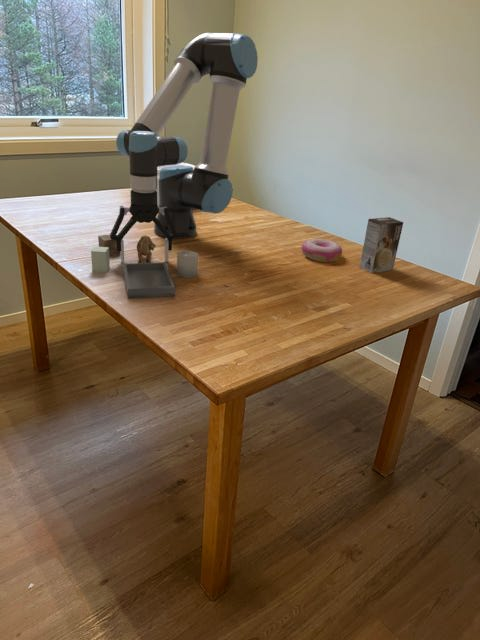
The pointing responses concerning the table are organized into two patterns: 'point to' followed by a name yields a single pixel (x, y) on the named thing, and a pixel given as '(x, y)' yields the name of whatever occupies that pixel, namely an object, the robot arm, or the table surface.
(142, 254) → the lion figurine
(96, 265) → the sage block
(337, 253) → the donut
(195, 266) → the pale grey rounded cylinder
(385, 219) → the coffee box
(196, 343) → the table surface
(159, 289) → the slate tray
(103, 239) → the walnut block
